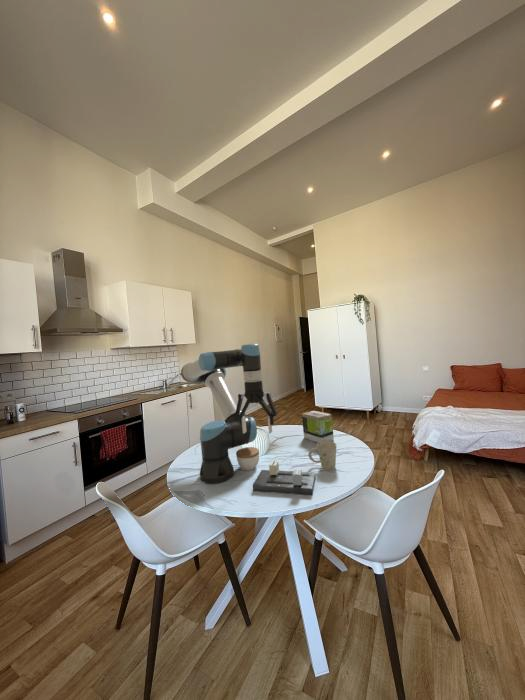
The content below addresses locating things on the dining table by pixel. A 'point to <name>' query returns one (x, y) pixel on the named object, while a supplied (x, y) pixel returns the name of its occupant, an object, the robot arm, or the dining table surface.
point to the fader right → (297, 477)
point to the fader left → (274, 467)
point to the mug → (325, 454)
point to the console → (284, 483)
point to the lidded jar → (248, 458)
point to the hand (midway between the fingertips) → (257, 432)
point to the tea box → (317, 426)
